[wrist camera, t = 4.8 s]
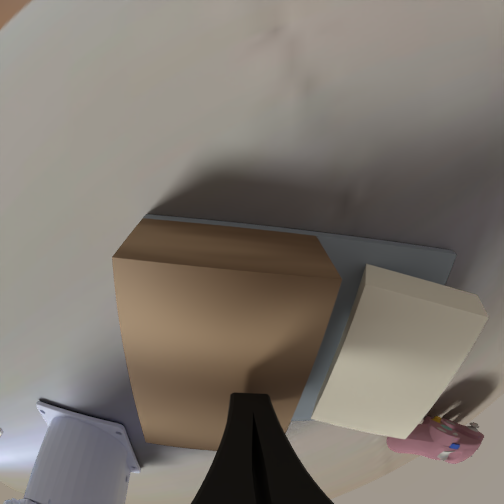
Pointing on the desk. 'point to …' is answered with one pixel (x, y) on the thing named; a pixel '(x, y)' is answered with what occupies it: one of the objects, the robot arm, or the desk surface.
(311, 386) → the mat
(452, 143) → the desk surface
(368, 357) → the cream rectangular block
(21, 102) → the desk surface
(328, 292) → the brown wooden block
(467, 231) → the desk surface
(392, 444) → the video game controller
